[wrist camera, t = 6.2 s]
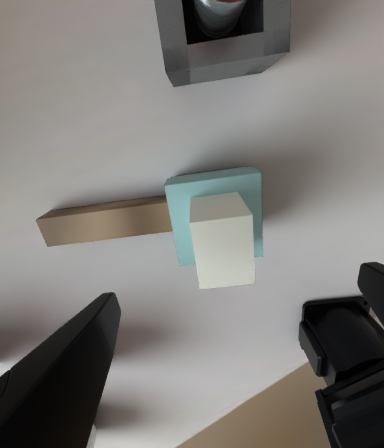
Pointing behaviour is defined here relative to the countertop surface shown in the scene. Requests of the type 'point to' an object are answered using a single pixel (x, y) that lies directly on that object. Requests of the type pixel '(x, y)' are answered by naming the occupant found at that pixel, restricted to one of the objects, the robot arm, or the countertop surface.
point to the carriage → (218, 224)
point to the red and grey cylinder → (217, 15)
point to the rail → (105, 221)
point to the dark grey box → (224, 43)
